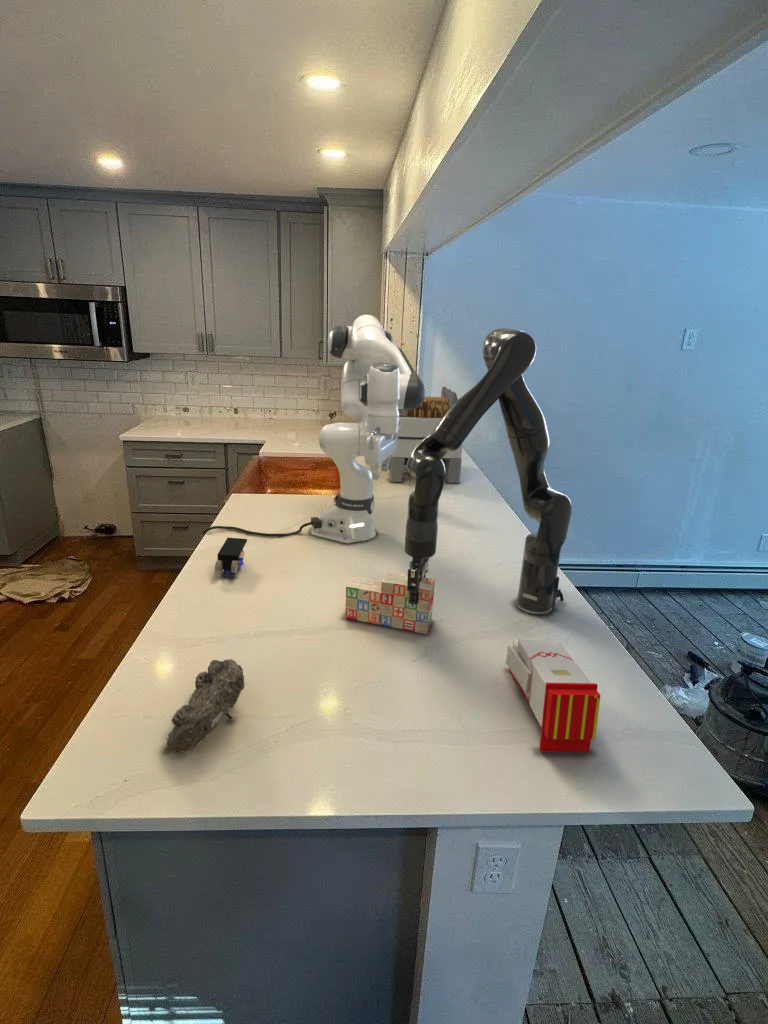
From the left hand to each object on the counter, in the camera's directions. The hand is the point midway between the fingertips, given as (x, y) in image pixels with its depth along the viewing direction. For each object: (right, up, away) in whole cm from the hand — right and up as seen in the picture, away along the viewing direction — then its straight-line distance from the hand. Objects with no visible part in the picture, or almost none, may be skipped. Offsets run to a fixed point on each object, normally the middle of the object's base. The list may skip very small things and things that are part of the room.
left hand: (380, 474), depth 157 cm
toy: (+33, -50, -41) cm, 73 cm away
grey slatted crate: (+18, +8, +118) cm, 119 cm away
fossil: (-32, -49, -49) cm, 77 cm away
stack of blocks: (+2, -38, -13) cm, 40 cm away
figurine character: (-44, -27, +10) cm, 53 cm away
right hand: (+9, -31, -17) cm, 37 cm away
